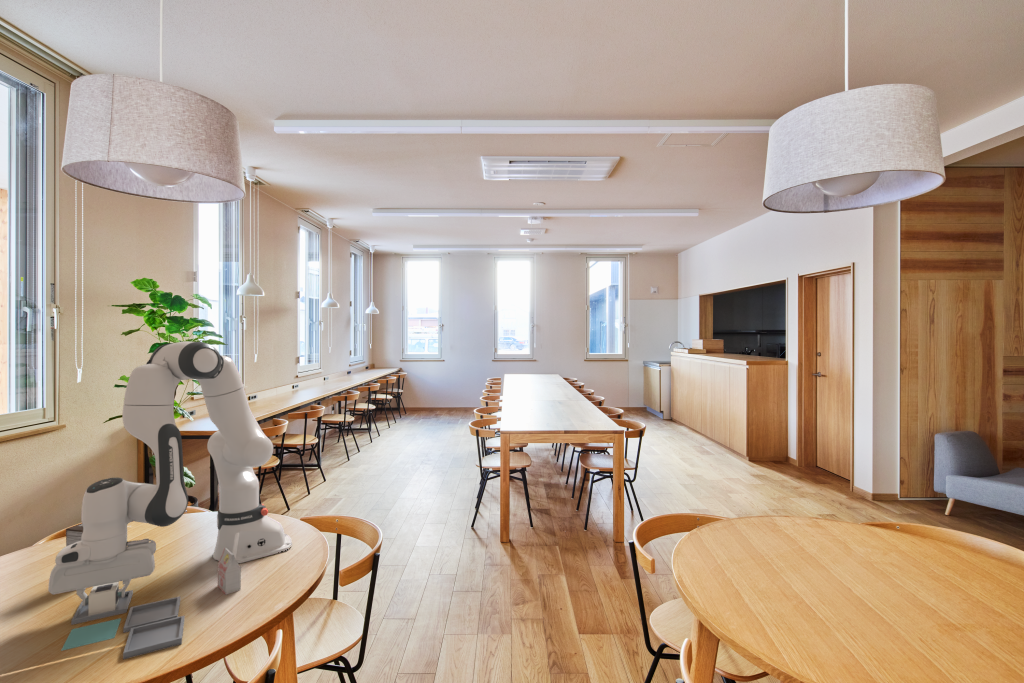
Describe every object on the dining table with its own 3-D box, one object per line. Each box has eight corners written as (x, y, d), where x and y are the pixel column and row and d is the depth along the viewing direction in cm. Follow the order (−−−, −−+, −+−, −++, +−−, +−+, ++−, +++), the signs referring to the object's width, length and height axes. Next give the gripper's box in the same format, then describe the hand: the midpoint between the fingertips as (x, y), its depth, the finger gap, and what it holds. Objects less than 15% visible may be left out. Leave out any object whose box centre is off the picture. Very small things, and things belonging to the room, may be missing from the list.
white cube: (119, 600, 124) (119, 580, 124) (115, 610, 119) (115, 589, 119) (93, 606, 121) (93, 585, 121) (88, 616, 117) (88, 594, 117)
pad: (121, 619, 116) (121, 618, 116) (114, 639, 108) (114, 637, 108) (72, 630, 112) (72, 629, 112) (60, 652, 104) (60, 650, 104)
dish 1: (132, 595, 127) (132, 589, 127) (126, 614, 119) (126, 608, 119) (82, 605, 122) (82, 600, 122) (71, 626, 113) (71, 620, 113)
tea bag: (232, 581, 135) (232, 545, 135) (240, 589, 131) (240, 552, 131) (217, 585, 133) (217, 549, 133) (225, 594, 128) (225, 557, 128)
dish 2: (180, 601, 124) (180, 596, 124) (177, 621, 116) (177, 615, 116) (130, 612, 119) (130, 607, 119) (123, 634, 110) (123, 628, 110)
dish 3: (184, 621, 116) (184, 615, 116) (181, 644, 107) (181, 637, 107) (130, 634, 110) (131, 628, 110) (123, 659, 102) (123, 652, 102)
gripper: (157, 532, 128) (157, 584, 128) (54, 549, 118) (53, 605, 118) (154, 541, 123) (154, 595, 123) (46, 559, 112) (45, 618, 112)
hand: (104, 600), depth 120 cm, fingers closed on white cube, 5 cm apart
